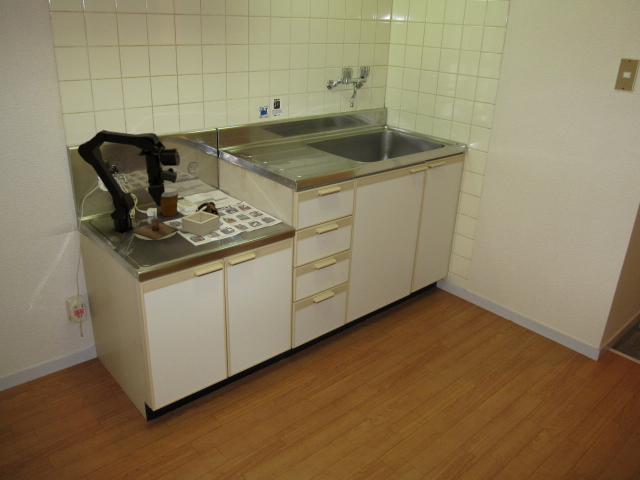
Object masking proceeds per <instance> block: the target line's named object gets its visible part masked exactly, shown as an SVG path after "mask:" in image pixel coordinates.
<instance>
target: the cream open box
mask: <svg viewBox="0 0 640 480" xmlns="http://www.w3.org/2000/svg"><path fill="white" fill-rule="evenodd" d="M219 216H220V215H219ZM219 216H217V215H215V213H214V214H212V213H207V212H203V211H202V210H200V211H198V212H193V213H190V214H187V215H184V216H183V217H181V218H180V219H181V230H182V231H183V232H186V233H190V234H193V235H196V236H199V237H204V236H206V235H208V234H211V233H213V232H215V231H216V230H219V229H221V225H220V224H221V223H220V218H219Z"/></svg>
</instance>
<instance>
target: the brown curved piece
mask: <svg viewBox="0 0 640 480" xmlns="http://www.w3.org/2000/svg"><path fill="white" fill-rule="evenodd" d="M198 211H203V212H207V213H210V214H214V215H217V216H219V219H220V217H221V216H220V213H219V212H218V209H217V207H216V204H215V202H214V201H209V202H208V201H207V202H203V203H201V204H200V205H198V206H197V207H196V210H195V212H198ZM195 212H194V213H195Z"/></svg>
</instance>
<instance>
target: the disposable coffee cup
mask: <svg viewBox="0 0 640 480" xmlns="http://www.w3.org/2000/svg"><path fill="white" fill-rule="evenodd" d="M164 188H165V192H164V193H163V194H162V195H161V206H160V209H161V214H162V216H164V217H172V216H173V217H175V216H176V215H177V214H178V203H179V202H178V199H179V193H180V191H179V189H178V187H175V186H172V185H171V186H170V185H169V186H164Z"/></svg>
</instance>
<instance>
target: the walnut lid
mask: <svg viewBox="0 0 640 480" xmlns="http://www.w3.org/2000/svg"><path fill="white" fill-rule="evenodd" d="M150 221H151V223H149V224H148V225H144V226H145V227H143V226H141V227H142V228H141V227H139V228H137V229H133V230H132V233H133V234H134V235H135V234H138V235H141V236H144V237H147V238H150V239H152V240H151V241H157V239H159V238H162V237H164V236H166V235H169V234H171V233H174V232H176V231H177V232H178V231H179V230H180V229H179V228H178V227H175V226H174V227H172V226H173V225H172V226H169V225H170V224H167V225H166V223H162V222H160V220H159V218H152V219H150ZM177 232H176V233H177ZM159 240H160V239H159Z"/></svg>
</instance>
